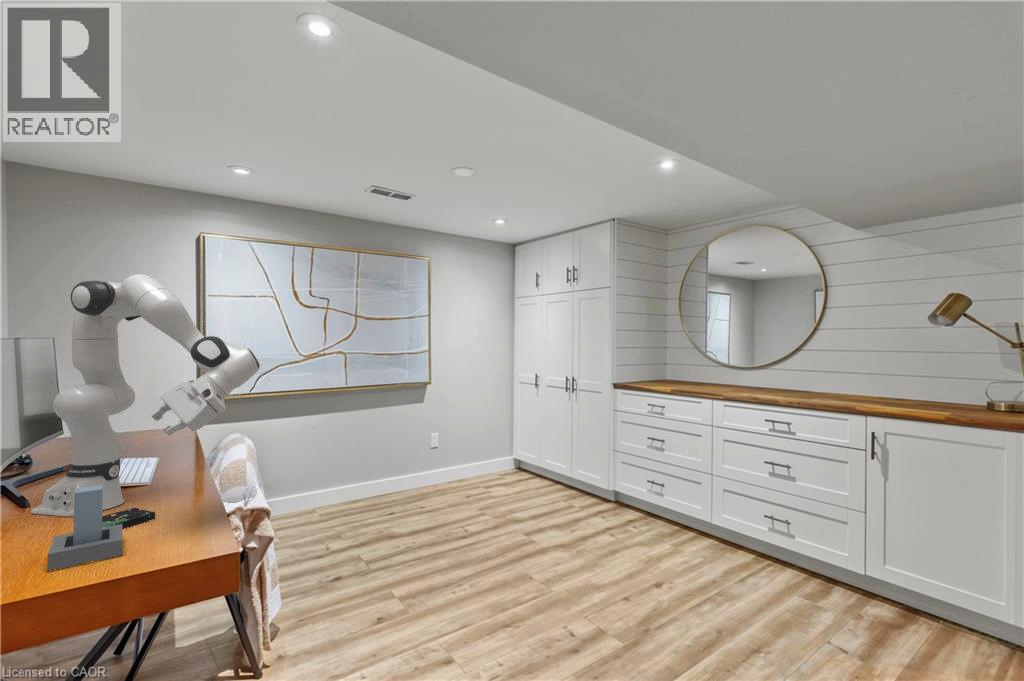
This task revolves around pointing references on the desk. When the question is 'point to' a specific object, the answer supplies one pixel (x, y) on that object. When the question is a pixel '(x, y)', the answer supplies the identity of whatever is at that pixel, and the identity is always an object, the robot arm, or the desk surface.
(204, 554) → the desk surface
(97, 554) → the well block
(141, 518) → the disk drive
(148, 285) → the robot arm
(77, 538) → the blue block
